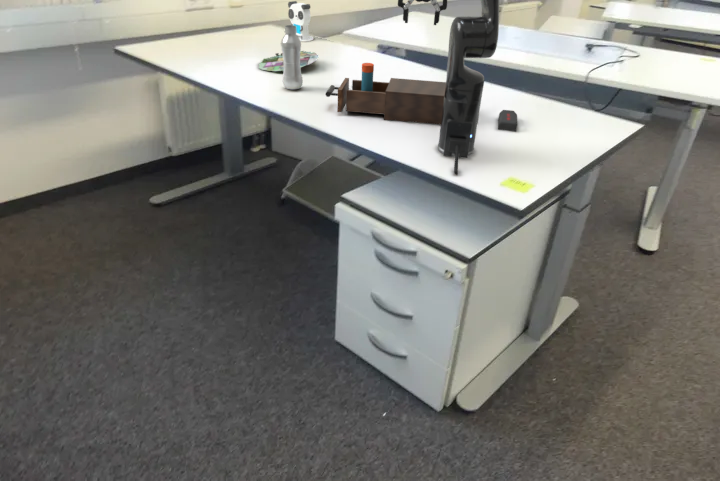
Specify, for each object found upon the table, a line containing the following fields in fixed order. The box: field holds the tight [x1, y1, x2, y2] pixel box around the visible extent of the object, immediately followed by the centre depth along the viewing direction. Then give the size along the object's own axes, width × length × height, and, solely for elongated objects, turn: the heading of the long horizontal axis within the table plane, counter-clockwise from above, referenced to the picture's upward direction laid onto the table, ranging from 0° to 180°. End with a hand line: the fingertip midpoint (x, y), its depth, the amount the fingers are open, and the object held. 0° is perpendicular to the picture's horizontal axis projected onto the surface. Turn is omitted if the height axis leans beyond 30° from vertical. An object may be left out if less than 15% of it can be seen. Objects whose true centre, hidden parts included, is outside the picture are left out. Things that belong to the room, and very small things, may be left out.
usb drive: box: [497, 109, 518, 132], centre depth 161 cm, size 5×12×3 cm, turn 167°
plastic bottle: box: [280, 24, 304, 90], centre depth 178 cm, size 6×7×20 cm
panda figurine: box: [287, 0, 314, 43], centre depth 240 cm, size 12×11×15 cm
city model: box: [258, 50, 320, 72], centre depth 205 cm, size 25×23×6 cm
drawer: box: [325, 77, 389, 115], centre depth 165 cm, size 22×12×7 cm, turn 81°
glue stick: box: [361, 62, 375, 92], centre depth 163 cm, size 4×4×12 cm
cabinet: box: [383, 77, 446, 126], centre depth 163 cm, size 19×14×9 cm
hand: (420, 23), depth 161 cm, fingers open, 8 cm apart
